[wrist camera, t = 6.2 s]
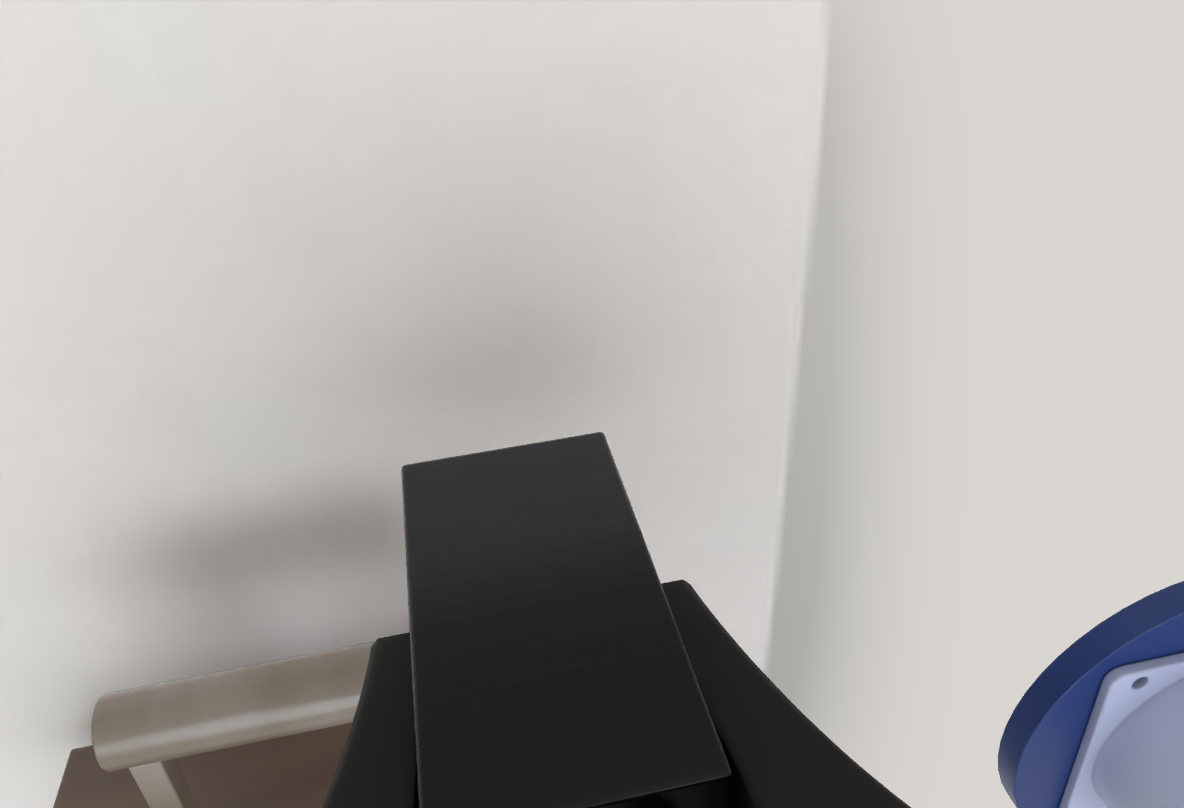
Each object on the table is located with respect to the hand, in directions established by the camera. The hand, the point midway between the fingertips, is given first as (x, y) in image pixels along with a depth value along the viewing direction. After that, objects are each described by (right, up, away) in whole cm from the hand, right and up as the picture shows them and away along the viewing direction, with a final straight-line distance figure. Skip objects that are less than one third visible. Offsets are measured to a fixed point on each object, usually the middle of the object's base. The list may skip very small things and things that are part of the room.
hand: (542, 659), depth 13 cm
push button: (0, +1, +2) cm, 2 cm away
